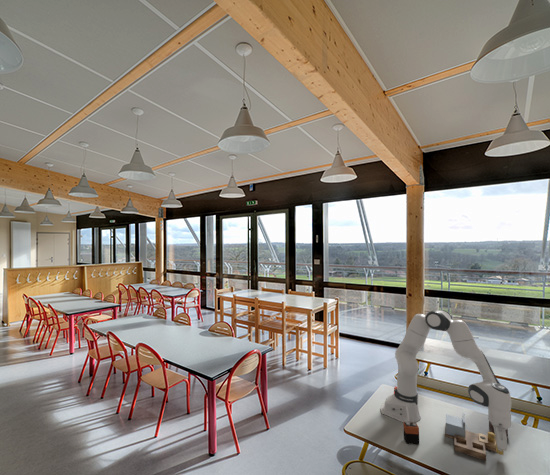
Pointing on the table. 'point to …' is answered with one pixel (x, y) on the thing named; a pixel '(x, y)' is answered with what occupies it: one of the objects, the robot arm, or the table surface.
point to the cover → (455, 425)
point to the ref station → (480, 439)
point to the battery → (411, 433)
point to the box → (493, 428)
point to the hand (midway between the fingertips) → (499, 447)
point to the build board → (470, 447)
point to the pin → (499, 451)
